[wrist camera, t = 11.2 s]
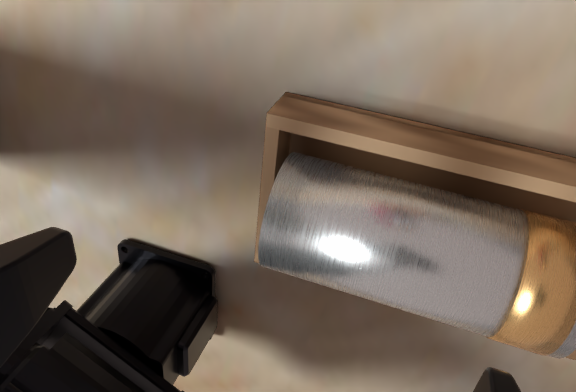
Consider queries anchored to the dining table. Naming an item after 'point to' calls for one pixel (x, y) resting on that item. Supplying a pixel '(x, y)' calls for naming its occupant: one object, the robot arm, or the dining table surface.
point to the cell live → (425, 252)
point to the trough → (417, 157)
